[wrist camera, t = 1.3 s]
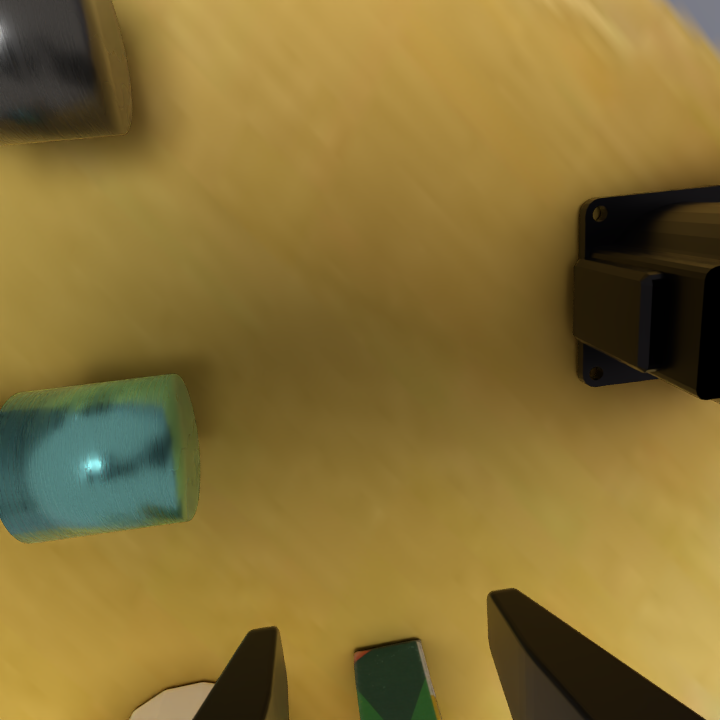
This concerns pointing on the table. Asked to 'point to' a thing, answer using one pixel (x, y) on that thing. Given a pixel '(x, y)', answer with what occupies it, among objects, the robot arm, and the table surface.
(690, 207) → the robot arm
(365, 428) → the table surface
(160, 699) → the white cup
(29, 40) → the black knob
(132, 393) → the teal and white peg
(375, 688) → the crayon box
